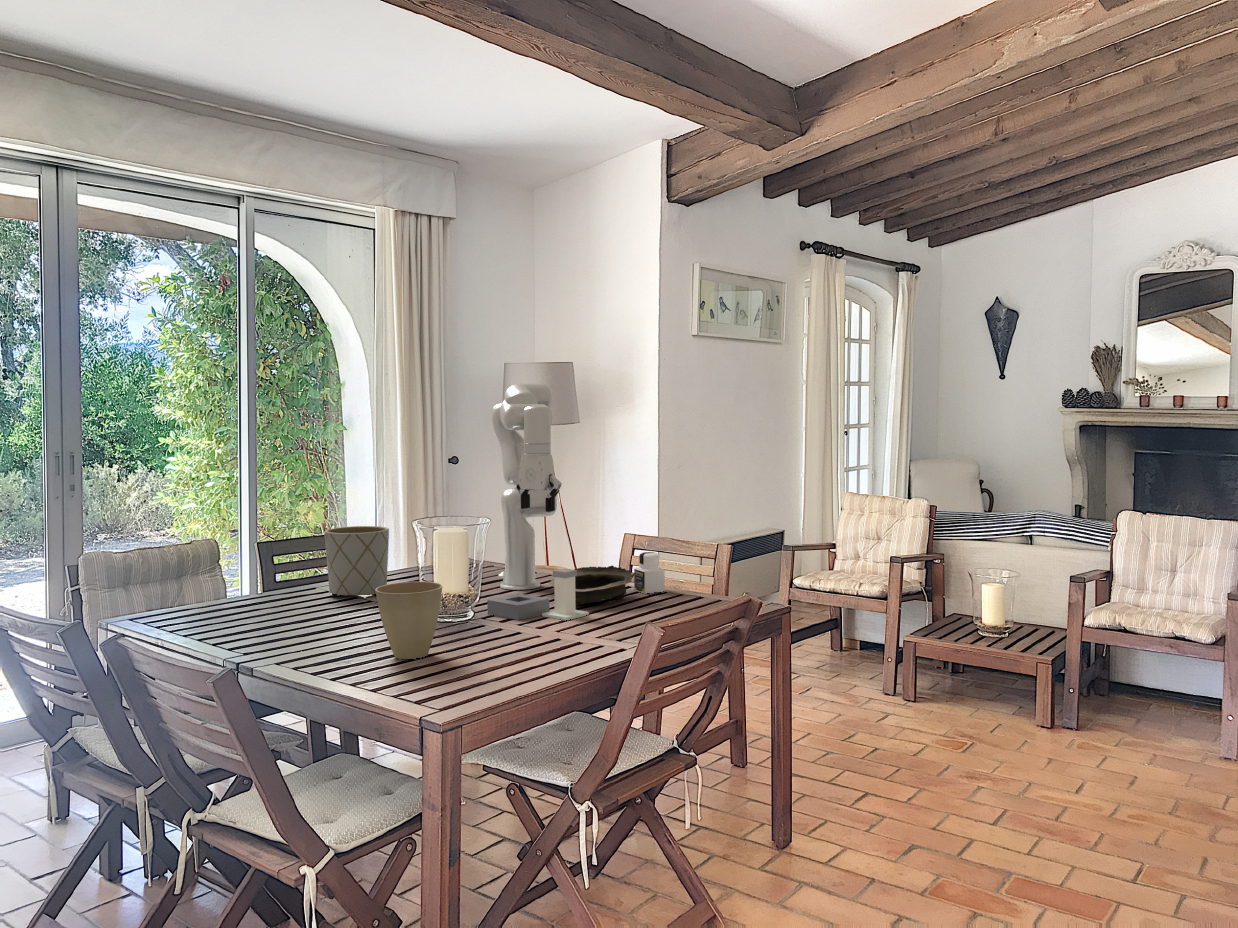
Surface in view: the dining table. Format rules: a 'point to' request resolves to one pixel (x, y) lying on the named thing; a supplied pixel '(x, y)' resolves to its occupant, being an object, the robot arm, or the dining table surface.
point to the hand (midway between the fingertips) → (537, 509)
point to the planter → (357, 559)
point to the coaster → (565, 617)
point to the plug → (564, 590)
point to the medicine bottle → (649, 574)
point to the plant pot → (409, 616)
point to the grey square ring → (518, 606)
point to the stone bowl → (600, 584)
